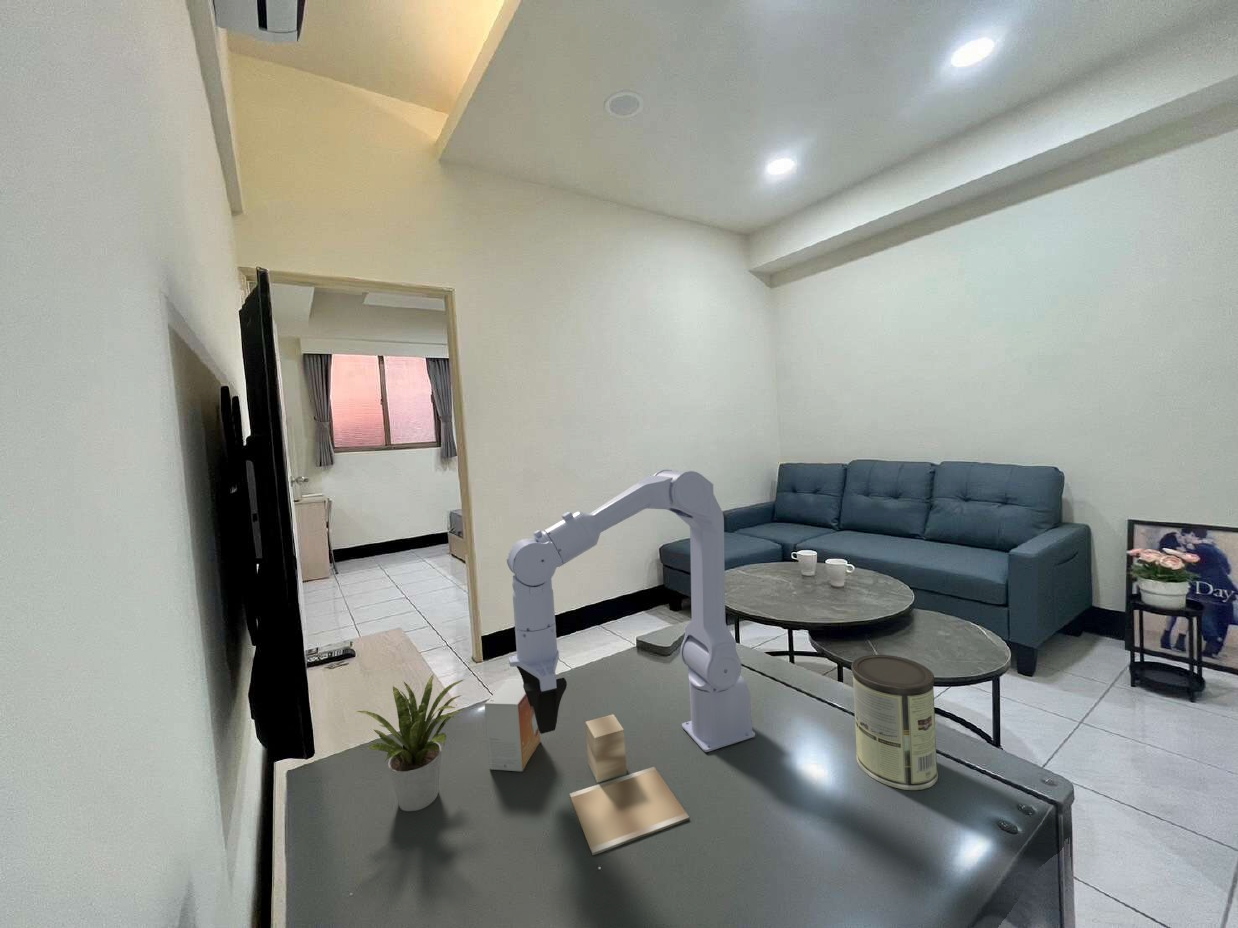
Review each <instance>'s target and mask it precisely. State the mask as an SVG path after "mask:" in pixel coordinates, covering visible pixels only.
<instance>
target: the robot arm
mask: <svg viewBox="0 0 1238 928" xmlns="http://www.w3.org/2000/svg"><path fill="white" fill-rule="evenodd" d="M646 509H651V510H652V509H653V510H667V511H670V512H672V513H674V514H676V516H677V517H679V518H680V519H681V520H682V521H683V522H684V523H685V524H687V525H688V527H689V536H690V538H689V539H690V541H689V542H690V547H689V548H690V593H691V594H690V595H691V597H690V598H691V599H690V600H691V601H690V602H691V603H690V604H691V605H690V606H691V620H690V621H689V622H688V623H687V624H686V626H685V627H684V637H683V641H682V642H681V646H680V650H679V651H680V658H681V660H682V662H683V663H684V664H685V666H687V673H688V685H689V688H688V689H689V690H688V691H689V704H690V720H689V721H685V722H682V723H681V728H682V729H683V730H684V731H685V732H686V733H687V734H688V735H689V737H690V738H691V739H692V740H694V742H695V743H696V744H697V745H698V746H699V748H700V749H701V750H702V751H703V752H704V753H708V752H712V751H714V750H718V749H720V748H724V747H728V746H730V745H733V744H737V743H740V742H743V741H745V740H749V739H752V738H755V737H756V733H755V731H753V720H752V719H753V717H752V716H753V714H752V701H751V693H750V689H749V685H748V684H747V683H748V682H746V680H745V679H744V677H743V676H742V675H741V673H742V660H741V658H740V656H739V654H738V651H737V645H736V644H737V642H736V639H735V638H734V636H733V634H732V632H731V630H730V628H729V627H728V625H727V623H726V584H725V583H726V582H725V581H726V580H725V579H726V578H725V575H726V574H725V570H726V569H725V519H724V512H723V510H722V508H721V506H720V504H719V502H718V500H717V498H716V496H715V494H714V483H713V482H711V481H710V480H708V479H707V478H706V477H705V476H704V475H702V474H701V473H700V472H698V471H693V470H688V471H682V470H681V471H679V470H672V469H661V470H659V471H657V472H655V474H653V475H648V476H645V477H643V478H642V479H641V480H640V481H638V482H637V483H635V484H634V485H632V486H629V488H627V489H626V490H624V491H623V492H621V493H619V494H618V495H616V496H615V497H613V498H611V499H610V500H608V501H607V502H605V503H604V504H602V505H601V506H599V507H598V508H596V509H595V510H593V511H591V512H590V513H586V512H582V511H579V510H577V511H575V512H570V511H567V512H566V511H565V513H563V514H562V515H561V518H562V519H561V520H560V521H557V522H556V523H554V524H552V525H550V526H549V527H547V528H546V529H543V530H542V531H541V530H540V529H537V530H535V531H533V536H534V538H531V537H529V538H527V537H526V538H522V539H520V540H517V542H515V543H514V544H513V545H512V548H511V549H509V553H508V556H507V557H508V558H507V559H506V563H507V566H508V568H509V570H510V572H511V573H513V574H514V575H513V576H512V589H513V593H512V605H513V606H512V607H513V617H514V618H513V619H514V632H515V633H514V634H515V645H516V646H515V647H516V654H515V655H512V656H509V657H508V665H509V667H511V668H512V667H516V668H517V670H518V671H519V674H520V676H521V680H523V683H524V684H523V688H524V690H525V693H526V695H527V699H528V702H529V704H530V706H533V709H534V713H535V718H536V722H537V726H538V729H539V731H540V735H543V734H546V733H550V732H554V731H555V730H556V728H557V724H558V723H557V722H558V717H559V716H558V715H559V710H560V704H561V701H562V697H563V695H564V693H565V691H566V690H567V685H568V683H567V680H566V678H565V677H560V678H557V674H556V670H557V665H558V663H559V659H560V651H559V649H558V640H557V625H556V615H555V614H556V613H555V600H554V597H555V595H554V590H553V581H552V578H553V576H554V575H555V572H556V570H557V568H560V567H562V566H564V565H566V564H567V563H568V562H571V561H572V560H574V559H575V558H577V557H578V556H580V555H582V554H584V553H585V552H587V551H589V550H590V549H592V548H594V547H595V546H597V544H598V542H599V539H600V535H601V533H603V532H604V531H607V530H608V529H610V528H612V527H614V526H616V525H617V524H620V523H621V522H623V521H625V520H628V519H629V518H630V517H633V516H635V515H636V514H638V513H641V512H642V511H644V510H646Z"/></svg>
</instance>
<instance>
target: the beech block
mask: <svg viewBox="0 0 1238 928" xmlns="http://www.w3.org/2000/svg"><path fill="white" fill-rule="evenodd" d="M585 735H586V748H587V750H586V751H587V761H588V764H587V765H588V768H589V771H590V773H591V775H592V777H593V778H594V781H595V783H596V785H598V784H601V783H604V782H607V781H610V780H614V779H617V778H620V777H623V776H626V775H628V774H627V757H626V743H625V742H626V741H625V730H624V728H623V726H622V724H621V723H620V722H619V720H618V718H617V717H616V716H615V714H608V715H606V716H602V717H598V718H594V719H591V720H588V721H585Z"/></svg>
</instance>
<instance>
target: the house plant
mask: <svg viewBox="0 0 1238 928" xmlns="http://www.w3.org/2000/svg"><path fill="white" fill-rule="evenodd" d="M433 680H434V674H432V675H431V676H430V677H429V679H428V681H427V682H426V685H425V688H424V692H423V696H422V698H421V702H420V705H418V704H417V699H416V696H415V692H414V691H413V690H412V688H411V687H410V685H409V684H407V683H406V682H405V681H403V683H404V687H405V689H406V691H407V693H408V696H409V697H407V696H406V694H405V693H404V692H403V691H402V690H400V689H398V688H397V687H395V686H394V685H392V693H393V700H394V703H395V707H396V713H397V718H398V728H399V732H398V731H397V730H396V729H395V727H394V726H393V725H392V724H391V723H390V722H389V721H388V720H386V719H385V718H384V717H382V716H381V715H379V714H377V713H375V712H371V711H368V710H367V711H366V710H356V712H357V713H361V714H365V715H367V716H370V717H372V718H374V719H375V721H377V722H379V726H380V727H382V728H386V729H387V730H388V731H389V733H390V734H392V735H393V736H394V738H396V740H398V741H399V742H400V744H399V743H398V742H397V741H395V740H394V739H393V738H392V737H390V736H388V735H387V734H385V733H384V732H382V731H380V730H377V729H373V730H374V732H375V733H376V734H377V735H378V736H379V738H380V739H381V741H383V742H378V743H374V744H372V745H370V746H368V748H366V750H368V749H369V750H374V751H380V752H386V753H387V754H386V758H385V760H384V762H387V760H388V763H387V766H388V769H389V770H388V771H389V773H390V777H391V781H392V785H393V788H394V791H395V796H396V799H397V802H398V805H399V808H400V810H402V811H404V812H414V811H420V810H422V809H425V808H427V807H428V806H429V805H431V804H433V802H434V801H435V800H436V799H437V797H438V794H439V786H440V785H439V783H440V771H441V760H442V750H443V749H442V746H441V744H442V745H443V746H445V742H446V739H447V734H446V733H443V732H442V733H441V731H442V729H443V727H445V725H446V723H448V721H449V720H450V719H451V718H454V719H455V717H454V715H455V714H457V713H458V712H459V713H460V712H461V711H462V710H463V708H461V709H458V710H455V711H453V712H451V713H450V714H442V713H443V712H444V710H445V709H455V708H456V707H455V706H452V705H449V704H451V703H452V701H454V700H456V699H458V698H460V697H461V696H462V695H456V696H454V697H452V698H450V699H448V700H447V701H446V702H445V703H444V704H443V705H442V706H440V707H439V708H438V709H437V710H436V708H437V707H438V705H439V704H440V702H441V700H442V699H443V698H444V697H445V696H446V695H447V694H448V693H449V691H450V690H451V689H452V688H453V687H454V686H456V685H457V684H460V683H462V682H463V681H465V680H466V678H465V679H461V680H458V681H455V682H453V683H451V684H449V685H448V686H447V687H446V688H444V689H443V690H442V691H441V692H440V693H439V695H437V697H436V698H435V700H434V701H433V704H432V706H431V708H430V710H429V712H428V708H429V704H430V699H431V696H432V691H433V686H434V685H433ZM435 710H436V711H435ZM427 712H428V715H427ZM437 712H438V714H437V715H436V713H437ZM435 715H436V717H435V719H434V720H433V718H434V716H435ZM432 720H433V721H432ZM441 721H442V722H441ZM440 722H441V723H440ZM439 723H440V725H439V727H438V728H437V730H436V732H435V733H434V735H433V736H432V738H431V740H429V739H430V736H431V734H432V733H433V730H434V728H436V726H437V725H438V724H439ZM440 743H441V744H440ZM401 744H402V745H401Z"/></svg>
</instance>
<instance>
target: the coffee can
mask: <svg viewBox="0 0 1238 928" xmlns="http://www.w3.org/2000/svg"><path fill="white" fill-rule="evenodd" d="M850 665H851V666H850V668H851V673H852V685H853V686H852V687H853V703H854V704H853V705H854V725H855V740H856V741H855V745H856V753H855V754H856V761H857V764H858V765H859V767H860V769H861V770H862V771H863V772H864V773H865V774H866V775H868V776H869V777H870V778H872V779H874V780H876V781H877V782H880V783H881V784H883V785H886V786H888V787H891V788H892V787H893V788H896V789H901V790H907V791H921V790H922V791H923V790H925V789H929V788H931V787H933V785H935V784H936V783H937V781H938V778H939V776H938V775H939V774H938V773H939V772H938V762H937V760H938V759H937V741H936V740H937V739H936V721H935V720H936V711H935V692H934V691H935V690H934V684H935V675H934V674H933V673H934V672H932V671H931V670H930V669H929V668H928V667H926V666H925V665H923V664H922V663H919V662H917V661H915V660H914V661H913V660H911V659H908V658H904V657H901V656H900V657H899V656H897V655H896V656H895V655H889V654H888V655H887V654H868V655H863V656H860V657H857V658H856V659H855V660H853V661H852V663H851V664H850Z"/></svg>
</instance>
